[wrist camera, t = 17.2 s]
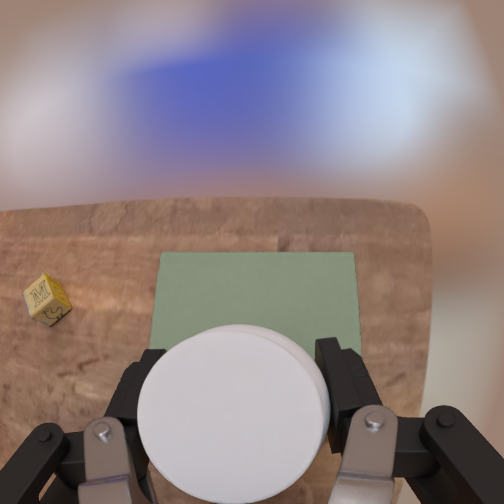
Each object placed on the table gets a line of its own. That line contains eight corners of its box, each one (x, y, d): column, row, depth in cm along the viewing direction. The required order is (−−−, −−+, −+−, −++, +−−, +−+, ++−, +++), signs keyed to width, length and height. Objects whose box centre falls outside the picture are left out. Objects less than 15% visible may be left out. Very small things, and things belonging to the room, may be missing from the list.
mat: (352, 253, 25) (353, 252, 25) (360, 427, 19) (361, 427, 19) (162, 253, 26) (161, 251, 26) (146, 420, 20) (144, 421, 20)
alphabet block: (40, 302, 25) (21, 291, 22) (61, 283, 26) (43, 271, 23) (50, 327, 24) (30, 319, 21) (73, 308, 25) (54, 298, 22)
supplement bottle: (207, 458, 13) (129, 529, 4) (190, 359, 16) (96, 312, 7) (314, 440, 13) (374, 502, 5) (293, 341, 16) (325, 272, 7)
